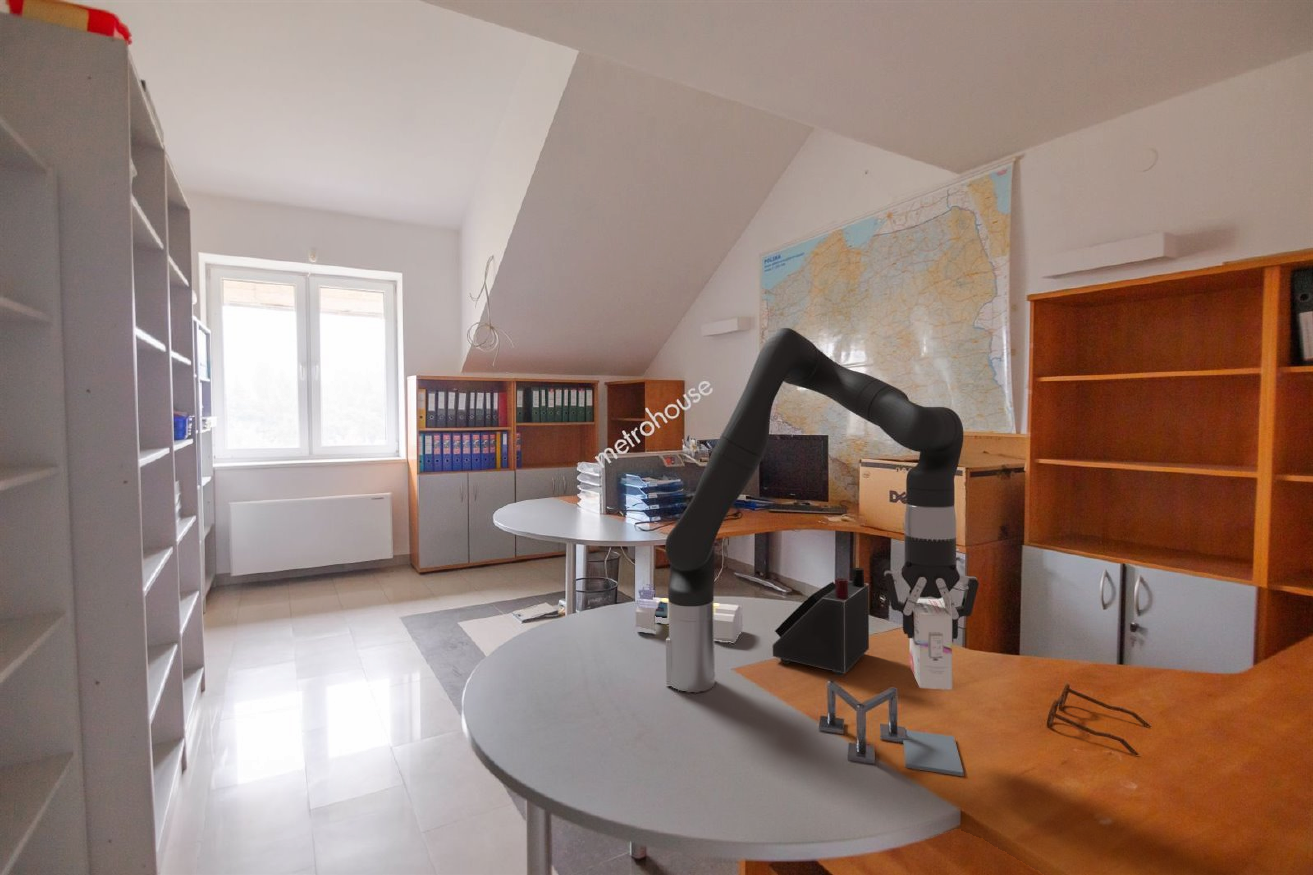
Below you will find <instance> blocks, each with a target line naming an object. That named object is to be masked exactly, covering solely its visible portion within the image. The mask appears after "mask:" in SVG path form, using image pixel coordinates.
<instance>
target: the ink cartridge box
mask: <svg viewBox="0 0 1313 875" xmlns="http://www.w3.org/2000/svg"><path fill="white" fill-rule="evenodd" d="M945 593H946V601H947V607H946V605H945V603H944V600H943V598H941V599H939V598H919V599H918V601H917V603H916V604H915V606H914V608H913V611H912V616H913V638H909V668H910V669H911V671H912V673H913V676H914V678H915V680H916V682H917V685H918V687H919V688H920V689H931V690H933V689H934V690H948V691H951V690H953V642H952V612H951V601H950V596H951V594H950V593H949V594H950V595H949V594H948V592H947V591H946V592H945Z"/></svg>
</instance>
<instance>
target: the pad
mask: <svg viewBox="0 0 1313 875" xmlns="http://www.w3.org/2000/svg"><path fill="white" fill-rule="evenodd" d="M905 730H906V740H904V739H903V743H902V744H903V753H904V761H905V762H904V763H905V768H907V769H912V770H920V771H926V772H932V773H940V774H944V775H945V774H946V775H953V776H957V777H964V770H963V766H962V762H961V758H960V754H959V751H958V747H957V744H956V740H955V739H956V738H955V736H954V735H946V734H939V733H932V732H925V731H919V730H911V729H910V730H909V729H905Z"/></svg>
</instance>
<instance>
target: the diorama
mask: <svg viewBox="0 0 1313 875" xmlns="http://www.w3.org/2000/svg"><path fill="white" fill-rule="evenodd" d="M652 589H654V585H653V583H646V586H642V589H638V595H639V597H637V598H636V599H637V600H636V602H637V603H636V604H637V607H636V611H635V628H636V627H641V628H646V629H651V630H655V631H656V629H655V628H656V627H655V626H656V624H655V616H656V617H662V618H669V612H668V598H665V597H663V598H662V597H654V596H655V594H656V590H655V589H654V590H652ZM638 599H639V600H638ZM741 630H743V608H742V606H740V605H738V604H727V603H717V602H714V639H716V640H722V641H731V642H734V641H735V640H736V638H737V636H738V635H739V633H740V632H741ZM737 639H738V638H737ZM736 641H737V640H736ZM736 641H735V642H736Z"/></svg>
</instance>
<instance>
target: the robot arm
mask: <svg viewBox="0 0 1313 875" xmlns="http://www.w3.org/2000/svg"><path fill="white" fill-rule="evenodd" d="M784 383H786V384H788V385H792V386H797V387H799V388H802V389H807V390H809V391H812V392H816V393H818V394H820V395H823V396H825V397H828V398H829V399H830V400H833V401H834V402H836V403H837V404H838V405H840V406H842V407H843V408H845V409H846V410H848V411H849V412H851V413H852V414H854V415H857V416H858V417H860V418H862V419H864V420H865V421H867V422H869V423H871V424H873V425H875V426H876V427H879V428H880V429H881V431H882V432H884V433H885V434H886V435H887V436H889V437H890V439H892V440H893V441H894V442H896V443H897V444H898V445H899V446H901V447H904V448H906V449H908V450H911V451H913V452H919V457H918V462H917V464H916V465H915V466H914V467H912V468H911V469H909V470H908V471H907V474H906V480H905V481H906V482H905V484H906V485H905V486H906V487H905V488H906V489H905V491H906V492H905V496H906V497H905V498H906V499H905V500H906V501H905V502H906V504H905V511H904V524H903V531H904V563H903V566H902V568H901V570H894V571H891V570H890V569H886V570H885V571H884V580H885V585H886V588H887V593H888V598H889V603H890V608H891V609H892V610H893V611H897V612H899V613H900V614H902V631H903V634H904V635H907V638H908V639H910V638H913V616H912V611H913V608H914V606H915V604H916V603H917V601H918V599H920V598H928V597H931V598H933V599H941V598H943V600H944V603H945V605H946V607H947V601H946V593H945V592H946V591H947V592H948V594H949V595H950V601H951V612H952V643H954V640H957V639H958V636H959V619H960V618H963V617H970V616H971V615H972V613H973V609H974V605H975V601H976V598H977V597H976V596H977V592H978V588H979V581H978V579H977V577H976V576H974V575H969V576H968V575H964V574H960V572H959V571H958V568H957V516H956V506H955V503H956V502H955V498H956V497H955V495H956V494H955V476H956V473H957V469H958V467H959V462H960V459H961V454H962V449H963V444H964V427H963V422H962V420H961V418H960V416H959V415H958V413H957V412H956V411H955V410H953V409H951V408H950V407H949V408H948V407H946V406H922V405H920V404H917V403H914V402H913V401H911V400H909V397H908V394H906V393H905V392H904V391H902V390H901V389H899V388H898V387H895V386H894V385H891V384H889V383H887V382H885V381H883V380H881V379H878V378H876V377H874V376H871V375H869V374H867V373H863V372H860V371H856V370H852V369H849V368H847V367H844V366H842V365H841V364H839V363H837V362H836V361H834V360H833V359H831V358H830V357H829V356H827V355H826V353H823V351H821V350H820V349H819V348H818V347H817V346H816V344H814V342H812V341H810V340H809V339H808V338H806V336H804V335H802V334H800V333H799V332H798V331H796V330H794V329H793V328H789V327H782V328H780V329H777V330H775V331H774V332H773V333H772V334H770V335H769V336H768V338H767V339H766V341H765V342H764V343H763V345H762V347H761V348H760V351H759V353H758V356H757V359H756V361H755V363H754V364H753V368H752V371H751V372H750V375H749V378H748V380H747V383H746V385H745V387H744V390H743V392H742V394H741V396H740V398H739V400H738V402H737V404H736V406H735V408H734V410H733V412H732V414H731V416H730V418H729V421H728V423H727V424H726V425H725V428H724V429H723V431H722V433H721V434H720V437H719V438H718V440H717V441H716V444H715V446H714V448H713V450H712V452H711V454H710V456H709V458H708V461H707V463H706V465H705V467H704V470H703V473H702V475H701V477H700V480H699V482H698V485H697V487H696V490H695V492H694V494H693V497H692V498H691V500H690V501H689V504H688V505H687V508H686V509H685V510H684V512H683V513H682V515H681V517H680V518H679V519H678V521H676V522H677V523H676V524H675V525H674V526H673V528H672V529H670V531H669V533H668V534H667V537H666V538H665V543H664V544H665V546H664V548H665V549H664V550H665V551H664V552H665V557H666V558H667V561H668V562H669V564H670V567H669V568H670V571H669V572H670V573H669V582H668V587H667V592H668V593H667V596H668V597H667V599H668V612H669V625H668V636H667V638H666V639H665V672H666V673H665V676H666V678H665V681H666V682H665V684H667V685H671V686H673V687H675V688H677V689H678V690H677V691H679V690H682V691H688V692H687V693H691V692H694V693H700V692H699V691H703V692H706V691H708V690H711V689H713V687H714V686H715V684H716V683H715V680H716V679H715V678H716V672H715V664H716V663H715V642H714V603H715V601H714V599H715V598H714V597H715V596H714V591H715V578H716V577H715V566H716V565H715V560H716V559H715V554H716V553H715V551H716V550H715V541H716V538H717V536H718V534H719V532H720V529H721V527H722V525H723V522H724V520H725V518H726V517H727V514H728V513H729V511H730V510H731V508H732V507H733V506H734V504H735V503H736V502H737V500H738V499H739V497H740V496H741V494H742V493H743V492H744V490H745V488H746V487H747V485H748V483H749V482H750V481H751V479H752V478H753V476H754V475H755V473H756V471H757V468H758V467H759V465H760V463H761V461H762V459H763V457H764V456H765V453H766V451H767V449H768V444H769V439H770V429H771V428H770V427H771V413H772V408H773V404H774V401H775V399H776V397H777V395H778V392H779V391H780V388H781V386H782V385H783V384H784ZM902 578H903V580H904V581H905V582H906V584H907V585H908V587H909V589H908V592H907V595H906V597H905V599H904V600H905V601H904V602H902V601H900V600H899V597H898V593H897V589H896V586H898V585H899V583H900V580H901V579H902ZM958 582H960V583H961V587H962V589H963V590H964V591H963V597H962V601H961V605H959V606H958V605H957V606H955V603H954V601H953V599H952V597H951V594H950V592H951V591H952V589H953V588H955V586H956V585H957V583H958ZM682 691H681V692H682Z"/></svg>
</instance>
